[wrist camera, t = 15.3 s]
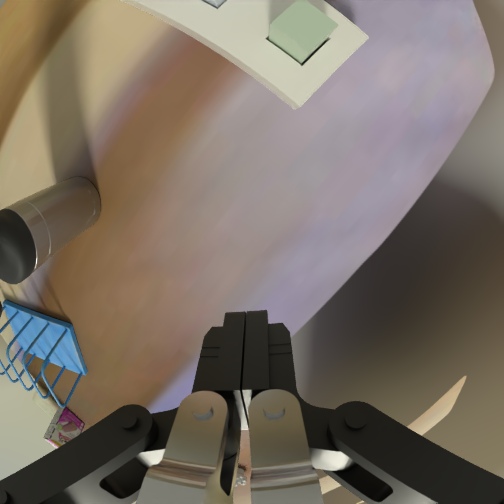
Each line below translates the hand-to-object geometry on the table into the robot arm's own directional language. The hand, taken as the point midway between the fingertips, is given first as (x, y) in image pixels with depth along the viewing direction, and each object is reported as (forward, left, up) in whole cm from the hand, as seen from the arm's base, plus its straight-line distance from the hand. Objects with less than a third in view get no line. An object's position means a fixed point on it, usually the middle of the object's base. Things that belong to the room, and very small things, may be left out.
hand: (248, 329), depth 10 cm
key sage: (+7, +18, -31) cm, 36 cm away
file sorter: (-58, -31, -32) cm, 74 cm away
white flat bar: (-2, +28, -32) cm, 42 cm away
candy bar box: (-74, -72, -32) cm, 108 cm away
